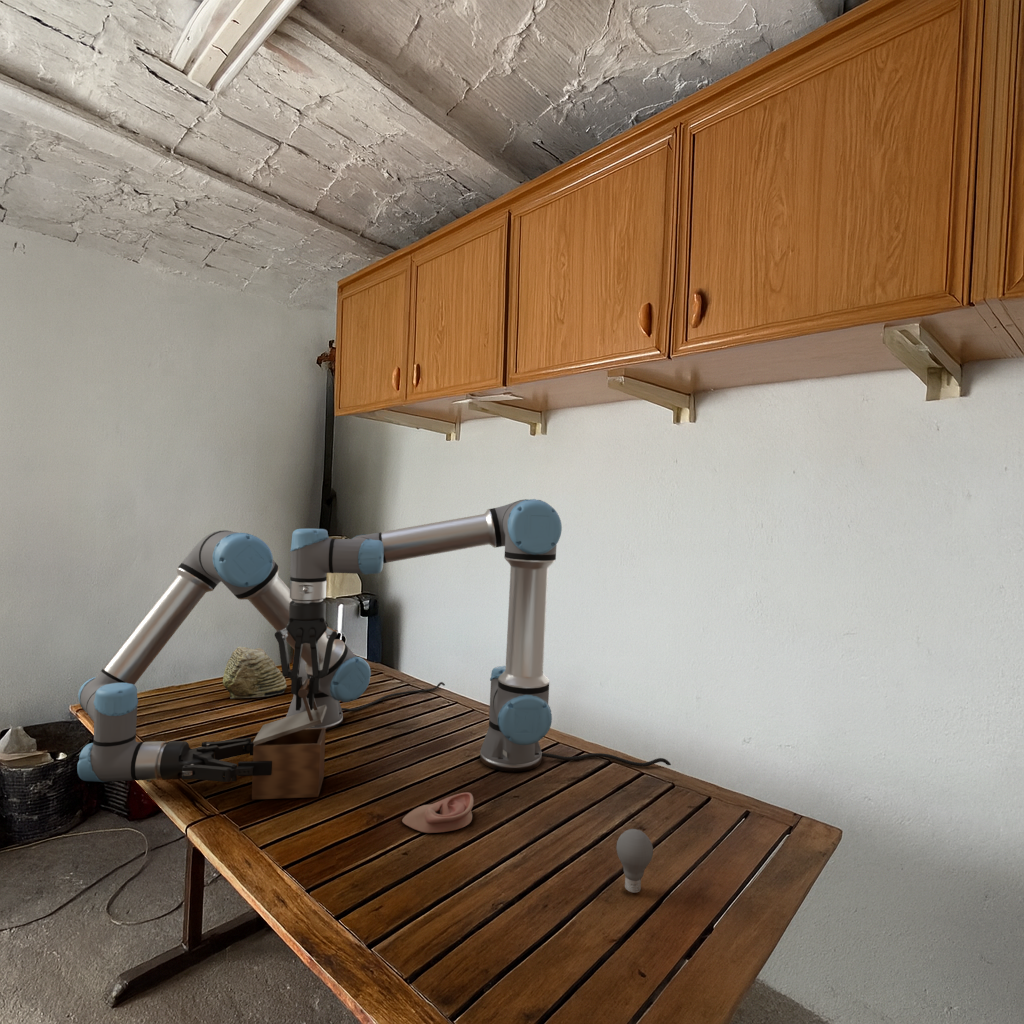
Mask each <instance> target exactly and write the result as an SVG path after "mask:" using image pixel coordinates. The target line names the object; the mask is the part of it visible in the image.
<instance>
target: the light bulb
mask: <svg viewBox="0 0 1024 1024" xmlns="http://www.w3.org/2000/svg"><path fill="white" fill-rule="evenodd" d="M615 849H616V854H617V857H618V859H619V861H620V863H621V865H622V867H623V873H624V874H623V875H624V876H625V878H624V888H625V890H627V891H628V892H630V893H634V894H635V893H639V892H640V891H641V889H642V887H641V886H642V879H643V877H644V875H645V871H646V868H647V867H648V866H649V864H650V863H651V861H652V859H653V855H654V847H653V843H652V841H651V838H649V836H648V835H647V834H646V833H645V832H643V831H642V830H641V829H636V828H629V829H627V830H625V831H623V832H622V833H621V834H620V835H619V837H618V839H617V841H616V847H615Z"/></svg>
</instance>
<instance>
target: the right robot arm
mask: <svg viewBox="0 0 1024 1024" xmlns="http://www.w3.org/2000/svg"><path fill="white" fill-rule="evenodd" d="M560 517H561V516H560V515H559V513H558V512H557V510H556V509H555V508H554V507H553V506H552V505H550V504H549V503H548V502H546V501H545V500H544V501H543V500H541V499H536V498H532V499H527V498H526V499H519V500H516V501H513V502H511V503H508V504H505V505H502V506H501V505H500V506H497V507H493V508H488V509H486V511H485V512H484V513H483V514H477V515H476V514H475V515H471V516H465V517H458V518H453V519H449V520H441V521H436V522H430V523H425V524H420V525H414V526H407V527H402V528H396V529H390V530H385V531H384V530H383V531H381V532H374V533H367V534H366V533H362V534H359V535H358V534H357V535H355V536H353V537H352V538H332V537H329V534H328V533H329V532H328V530H327V529H325V528H297V529H294V530H293V531H292V534H291V545H290V550H289V552H290V577H289V578H290V579H289V589H290V599H292V601H291V602H290V603H289V622H288V624H287V626H286V628H284V629H282V630H278V631H275V632H274V638H275V639H276V642H277V643H278V649H279V658H280V665H281V667H280V668H281V673H282V675H283V676H284V677H285V678H289V679H290V680H291V682H290V683H291V685H290V692H291V694H292V695H294V694H296V711H297V710H300V708H301V701H302V698H301V697H299V695H298V692H299V690H300V688H301V686H302V677H298V675H299V669H300V661H301V653H302V646H303V644H304V643H308V644H310V648H311V659H312V672H313V677H311V678H310V680H309V706H310V709H311V710H312V709H313V707H314V694H318V691H319V684H320V678H321V677H323V676H326V675H327V674H328V671H329V666H330V660H331V654H332V649H333V643H334V640H335V639H337V637H338V634H339V630H338V629H333V628H331V627H329V625H328V623H327V620H326V614H327V613H326V611H327V610H326V609H327V602H326V601H325V599H326V598H327V578H328V577H327V574H355V575H358V574H359V575H365V576H368V575H372V574H373V575H375V574H376V575H378V574H381V573H382V571H383V567H384V564H388V563H393V562H399V561H404V560H409V559H415V558H416V559H417V558H422V557H427V556H433V555H439V554H443V553H449V552H455V551H461V550H466V549H473V548H479V547H483V546H491V547H492V548H494V549H495V548H501V547H504V559H505V561H506V562H507V563H508V564H509V566H510V569H509V570H510V573H509V592H508V611H507V612H508V613H507V631H506V632H507V633H506V651H505V665H500V666H495V667H494V668H492V670H491V672H490V673H491V674H490V678H489V681H490V689H489V690H490V693H489V712H488V713H489V714H488V717H489V718H488V728H487V731H486V733H485V736H484V740H483V742H482V745H481V747H480V751H479V752H480V753H479V760H480V761H481V763H482V764H483V765H484V766H486V767H488V768H490V769H493V770H496V771H501V772H510V773H518V772H526V771H531V770H533V769H535V768H537V767H539V766H540V765H541V763H542V759H543V758H542V757H544V758H549V759H554V760H555V759H556V760H560V761H571V762H572V761H578V760H579V761H581V760H584V759H589V758H606V759H610V760H614V761H617V762H620V763H623V764H626V765H629V766H634V767H641V768H643V767H644V768H645V767H650V766H652V765H655V764H657V763H664V764H665V765H667V766H671V765H672V764H671V762H670V761H669V760H668V759H666V758H663V757H658V758H654V759H652V760H649V761H646V762H636V761H633V760H628V759H625V758H623V757H620V756H616V755H613V754H609V753H601V752H591V753H586V754H582V755H576V756H563V755H557V754H552V753H547V752H542V748H541V745H540V741H541V740H543V738H545V736H547V734H548V732H549V731H550V729H551V726H552V722H553V715H552V710H551V706H550V705H549V700H550V699H549V698H550V679H549V678H548V677H547V676H546V674H545V673H544V665H545V663H544V662H545V645H546V624H547V605H548V604H547V603H548V586H549V585H548V584H549V569H550V567H551V566H552V565H553V564H554V563H555V562H556V559H557V545H558V543H559V541H560V538H561V536H562V531H563V529H562V528H563V527H562V520H561V518H560ZM287 632H289V634H290V635H291V636H292V638H293V639H294V641H295V650H293V651H294V653H293V659H292V660H293V661H292V667H291V665H290V657H289V649H288V642H287V641H286V638H287ZM324 632H326V633H327V635H326V638H327V639H328V642H327V646H326V652H325V657H324V663H323V668H322V670H320V666H319V653H318V640H319V639H320V637H321V636H322V635H323V634H324Z"/></svg>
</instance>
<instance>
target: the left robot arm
mask: <svg viewBox="0 0 1024 1024" xmlns="http://www.w3.org/2000/svg"><path fill="white" fill-rule="evenodd" d="M279 566H280V565H278V564H277V562H275V560H274V557H273V553H272V550H271V548H270V547H269V545H268V544H267V543H266V542H265V541H264V540H263V539H261V538H260V537H258V536H256V535H254V534H251V533H249V532H237V531H232V530H227V529H226V530H225V529H224V530H217V531H213V532H211V533H208V534H207V535H205V536H204V537H203V538H201V540H199V541H198V542H197V543H196V545H195V546H194V547H192V549H191V550H190V552H189V553H188V554H187V556H186V557H185V558H184V559H183V560H182V561H181V563H180V564H179V565H178V567H177V568H176V573H177V574H176V577H174V579H173V580H172V581H171V582H170V584H169V585H168V587H167V588H165V590H164V591H163V592H162V594H161V595H160V596H159V598H158V599H157V600H156V601H155V603H154V604H153V605H152V607H151V608H150V609H149V610H148V612H147V613H146V614H145V615H144V616H143V618H142V619H141V621H139V623H138V624H137V625H136V627H134V629H133V630H132V632H131V633H130V634H129V636H128V637H127V638H126V639H125V640H124V642H123V643H122V644H121V645H120V647H118V649H117V650H116V652H115V653H114V654H113V655H112V656H111V658H110V659H109V661H107V662H106V664H105V665H104V666H103V668H102V669H101V670H100V671H99V672H98V674H97V675H96V676H93V677H91V678H89V679H87V680H86V681H84V683H83V684H82V685H81V686H80V687H79V690H78V694H77V699H78V702H79V706H80V707H81V708H82V710H83V711H84V713H86V714H87V715H88V717H89V718H90V719H91V720H92V721H93V740H92V742H91V743H87V744H86V745H85V746H83V748H82V749H81V751H80V753H79V756H78V759H79V760H78V762H77V764H76V765H77V766H76V769H77V775H78V777H79V779H80V780H81V781H84V782H98V783H99V782H100V783H108V782H109V783H110V782H127V781H128V782H129V781H131V782H132V781H146V782H147V783H151V782H152V781H158V780H161V779H162V780H164V781H171V780H172V781H173V780H184V781H185V780H201V781H210V782H220V783H221V782H223V783H230V782H233V783H234V782H237V777H252V776H263V775H271V774H272V761H253V760H251V761H250V760H249V761H247V760H246V761H238V762H237V763H233V762H228V761H224V759H230V758H234V757H239V756H244V755H248V754H249V757H250V756H251V757H253V746H254V743H253V741H252V737H245V738H237V739H236V738H235V739H227V740H219V741H203V742H201V746H199V747H196V748H191V747H190V743H189V742H188V741H186V740H183V741H182V740H170V741H169V742H167V741H166V740H164V741H163V740H162V741H161V740H159V741H157V740H156V741H137V719H138V705H139V698H138V688H137V685H136V684H137V682H138V681H139V680H140V678H141V677H142V675H143V674H144V673H145V672H146V670H147V669H148V668H149V667H150V665H151V664H152V663H153V661H154V660H155V659H156V657H158V655H159V654H160V652H161V651H162V650H163V649H164V647H165V646H166V645H167V643H168V642H169V641H170V640H171V638H172V637H173V636H174V634H175V633H176V632H177V631H178V629H179V628H180V626H181V625H182V624H183V623H184V622H185V620H186V619H187V618H188V617H189V615H190V614H191V613H192V611H194V609H195V607H196V606H197V605H198V604H199V602H200V601H201V599H202V598H203V597H204V596H205V594H206V593H209V592H213V591H214V590H215V589H216V588H217V586H218V585H219V584H220V583H221V584H223V585H224V586H225V587H226V588H227V589H228V590H229V591H230V592H231V594H233V595H234V596H235V598H236V599H237V600H248V602H250V604H251V605H252V606H253V607H254V608H255V609H256V611H258V613H260V614H261V616H262V617H263V618H264V619H265V620H266V621H267V622H268V623H269V624H270V626H271V627H273V628H274V630H275V632H277V631H278V630H282V629H284V628H286V626H287V624H288V622H289V603H290V602H291V601H292V599H290V587H289V586H288V585H287V584H286V583H285V582H284V580H283V579H282V578H281V577H280V576H279V572H280V567H279ZM326 635H327V633H326V632H324V634H323V635H322V636H321V637H320V639H319V640H318V653H319V666H320V670H322V668H323V663H324V657H325V652H326V646H327V642H328V639H327V638H326ZM286 641H287V645H289V646H290V647H291V648H292V649H293V651H295V641H294V639H293V638H292V636H291V635H290V634H289V632H287V638H286ZM371 676H372V670H371V666H370V664H369V662H367V661H366V660H365V659H364V658H362V657H360V656H357V655H356V654H355V653H354V652H353V651H352V650H351V649H350V647H349V646H348V645H347V644H346V643H345V642H344V641H343V640H342V639H339V638H335V640H334V643H333V649H332V654H331V660H330V666H329V671H328V674H327V675H326V676H323V677H321V678H320V684H319V691H318V694H314V699H315V702H316V705H317V707H320V706H323V705H326V706H327V709H326V712H325V715H324V718H323V721H322V723H321V724H318V725H315V726H312V727H309V728H326V730H325V731H329V730H332V729H335V728H337V727H339V726H340V725H342V723H343V722H344V714H343V712H356V711H360V710H362V709H366V708H367V707H370V706H372V705H375V704H378V702H381V701H383V700H385V699H387V698H391V697H395V696H400V695H408V694H409V695H410V694H415V693H416V694H417V693H426V692H432V691H435V690H437V689H439V687H440V686H441V685H442V686H446V684H445V682H443V681H440V682H439V683H438V684H437V685H436V686H435V687H432V688H427V689H426V688H424V689H414V690H406V691H400V692H395V693H390V694H386V695H383V696H382V697H379V698H378V699H376V700H374V701H371V702H368V703H366V704H364V705H361V706H358V707H353V708H347V707H342V706H341V702H343V703H350V702H353V701H355V700H357V699H359V698H360V697H361V696H362V695H363V694H364V693H365V692H366V690H367V689H368V687H369V684H370V682H371ZM298 677H302V684H303V682H304V681H305V680H306V679H310V678H311V677H313V672H312V659H311V648H310V644H308V643H304V644H303V646H302V653H301V661H300V669H299V675H298ZM292 696H293V697H292V699H291V702H290V704H289V708H288V711H287V713H286V715H285V718H286V717H289V716H292V715H295V714H298V713H302V712H305V711H307V710H306V707H305V704H304V701H303V698H302V701H301V708H300V710H297V711H296V694H293V695H292ZM307 700H308V703H309V692H308V694H307ZM313 709H314V708H313Z"/></svg>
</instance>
